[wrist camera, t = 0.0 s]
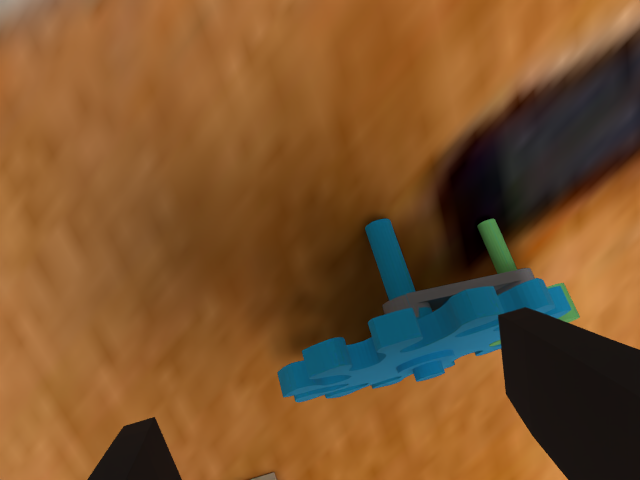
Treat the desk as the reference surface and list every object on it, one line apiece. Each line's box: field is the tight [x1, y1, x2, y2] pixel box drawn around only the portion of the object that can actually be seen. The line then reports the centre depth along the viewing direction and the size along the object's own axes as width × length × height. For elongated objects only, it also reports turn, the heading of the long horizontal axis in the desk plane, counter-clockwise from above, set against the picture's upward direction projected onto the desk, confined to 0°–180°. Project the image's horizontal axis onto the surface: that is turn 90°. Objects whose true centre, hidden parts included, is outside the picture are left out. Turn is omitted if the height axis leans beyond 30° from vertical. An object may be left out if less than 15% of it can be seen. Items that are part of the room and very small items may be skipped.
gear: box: [278, 219, 580, 402], centre depth 19 cm, size 11×6×10 cm
